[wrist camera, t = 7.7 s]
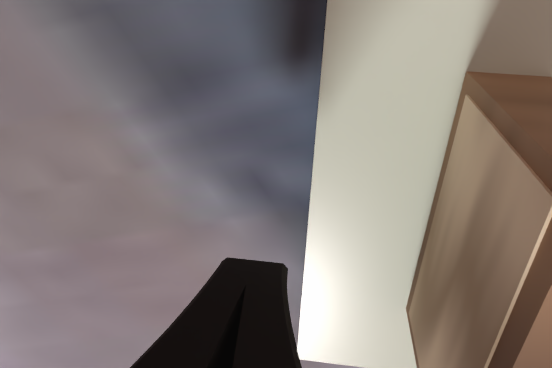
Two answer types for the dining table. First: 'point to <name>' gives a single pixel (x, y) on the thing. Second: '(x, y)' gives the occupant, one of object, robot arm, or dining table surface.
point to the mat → (392, 156)
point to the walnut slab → (489, 233)
